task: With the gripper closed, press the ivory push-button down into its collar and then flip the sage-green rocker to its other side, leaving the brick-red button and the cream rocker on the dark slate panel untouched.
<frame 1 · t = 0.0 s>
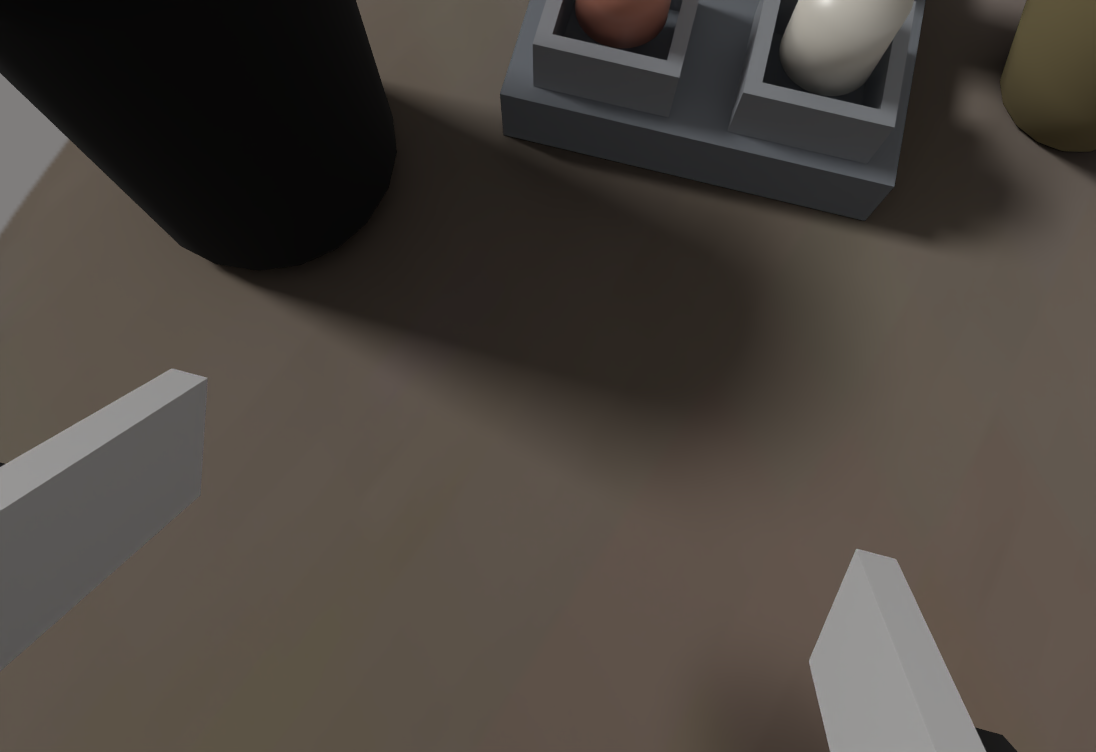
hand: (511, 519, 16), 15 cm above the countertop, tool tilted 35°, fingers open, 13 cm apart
ivory button: (842, 24, 29), point 7 cm above the countertop, slide at 0.0 cm
panel: (714, 42, 37), on the countertop
coffee jar: (279, 168, 35), on the countertop
squeeze bottle: (1060, 99, 36), on the countertop
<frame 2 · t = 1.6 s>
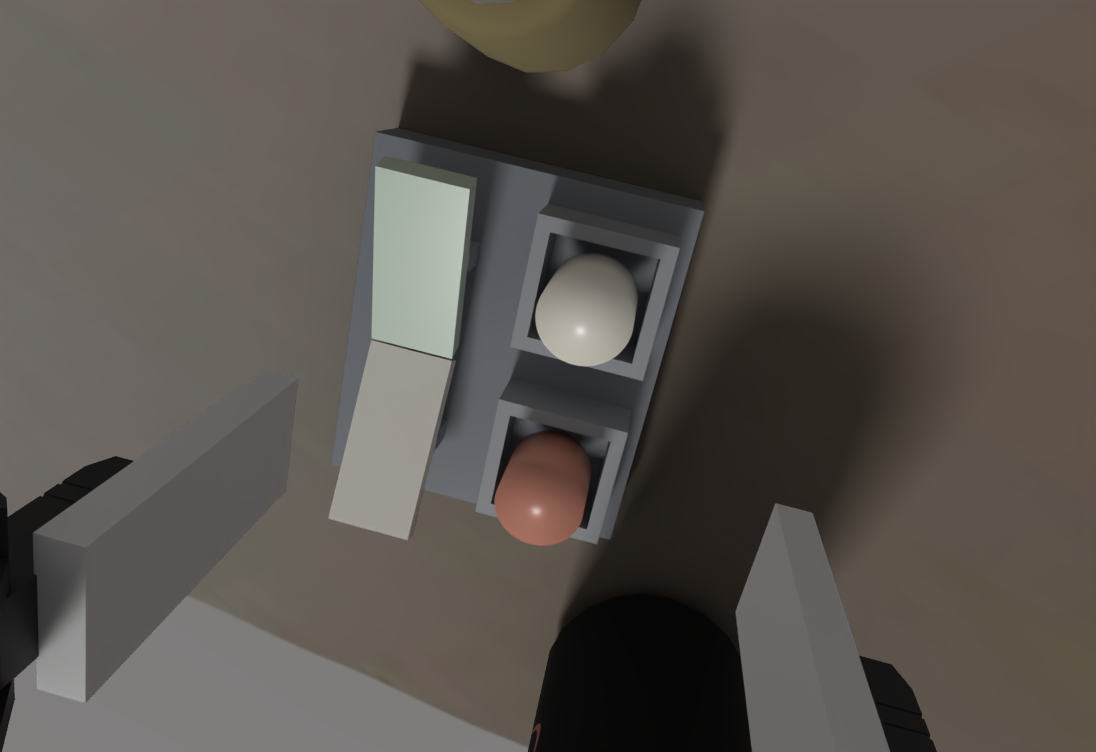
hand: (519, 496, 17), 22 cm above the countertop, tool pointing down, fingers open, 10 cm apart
ivory button: (588, 307, 31), point 7 cm above the countertop, slide at 0.0 cm
cream rocker: (394, 438, 36), point 5 cm above the countertop, hinge at 18.0°
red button: (545, 486, 34), point 7 cm above the countertop, slide at 0.0 cm
panel: (513, 330, 39), on the countertop
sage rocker: (423, 258, 33), point 5 cm above the countertop, hinge at -18.0°
coffee jar: (645, 663, 45), on the countertop
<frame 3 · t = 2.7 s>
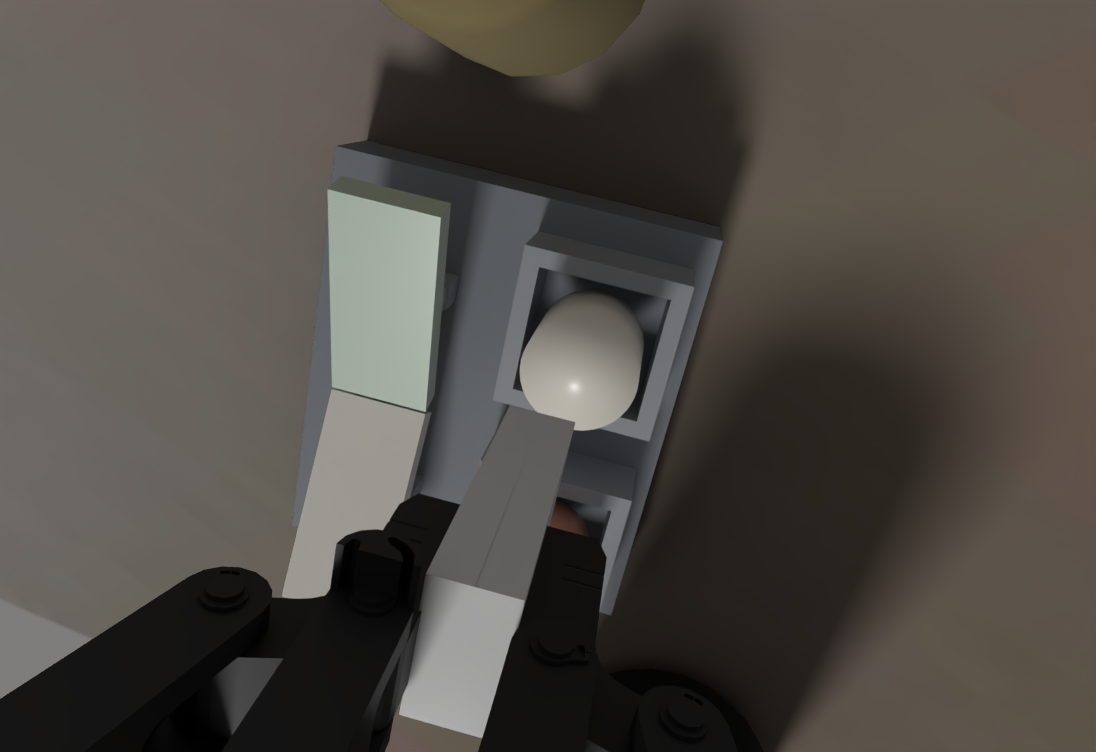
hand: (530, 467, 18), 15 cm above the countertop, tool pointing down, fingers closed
ivory button: (585, 357, 26), point 7 cm above the countertop, slide at 0.0 cm
cream rocker: (360, 501, 31), point 5 cm above the countertop, hinge at 18.0°
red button: (533, 563, 29), point 7 cm above the countertop, slide at 0.0 cm
panel: (500, 372, 34), on the countertop
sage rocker: (390, 296, 28), point 5 cm above the countertop, hinge at -18.0°
coffee jar: (651, 744, 39), on the countertop
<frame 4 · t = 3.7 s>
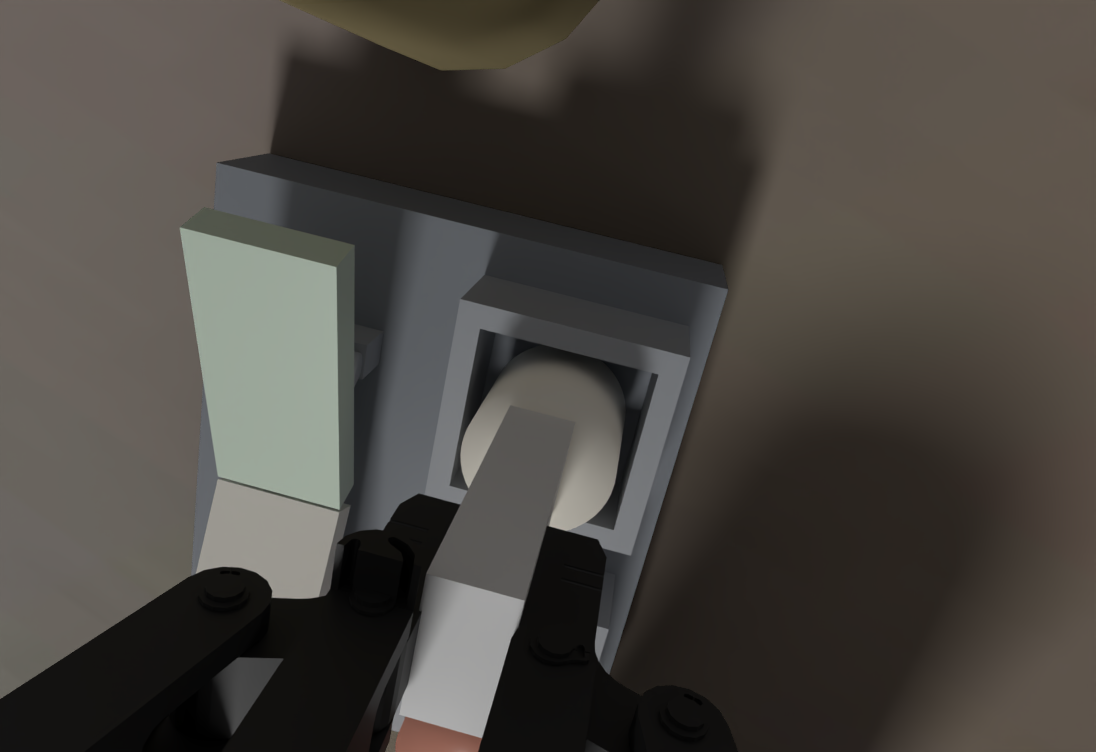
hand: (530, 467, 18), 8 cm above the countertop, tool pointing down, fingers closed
ivory button: (548, 434, 20), point 6 cm above the countertop, slide at 1.1 cm, touching gripper
cream rocker: (259, 620, 24), point 5 cm above the countertop, hinge at 18.0°
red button: (480, 711, 22), point 7 cm above the countertop, slide at 0.0 cm
panel: (447, 444, 27), on the countertop
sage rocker: (285, 364, 21), point 5 cm above the countertop, hinge at -18.0°
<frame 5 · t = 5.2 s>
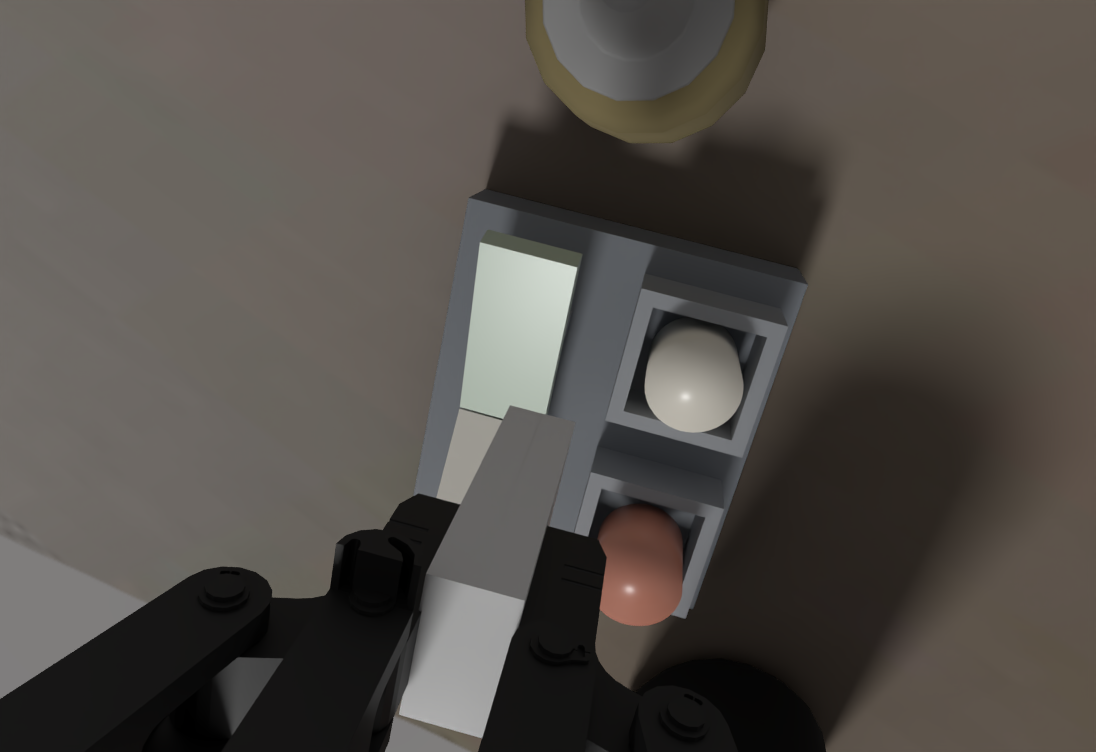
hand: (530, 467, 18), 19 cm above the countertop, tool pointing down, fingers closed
ivory button: (693, 372, 31), point 5 cm above the countertop, slide at 1.5 cm
cream rocker: (480, 507, 35), point 5 cm above the countertop, hinge at 18.0°
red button: (637, 562, 33), point 7 cm above the countertop, slide at 0.0 cm
panel: (595, 393, 38), on the countertop
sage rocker: (519, 330, 32), point 5 cm above the countertop, hinge at -18.0°
coffee jar: (717, 727, 44), on the countertop
squeeze bottle: (656, 35, 33), on the countertop
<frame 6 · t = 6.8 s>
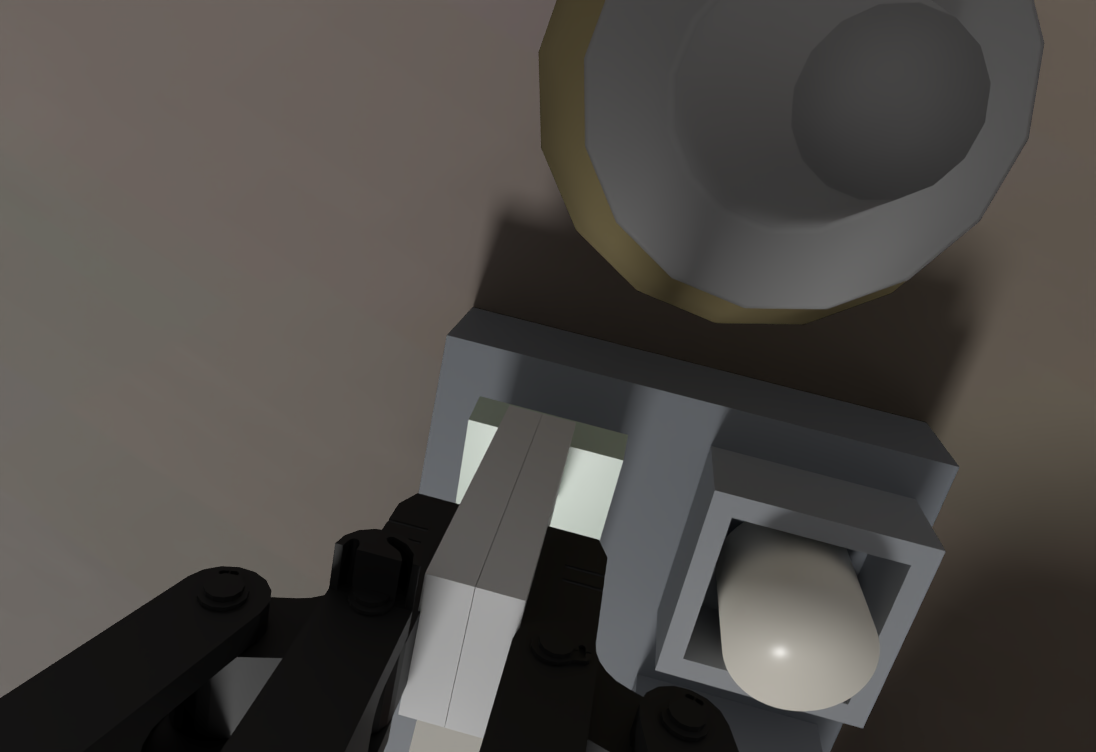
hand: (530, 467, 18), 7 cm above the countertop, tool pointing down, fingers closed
ivory button: (790, 606, 21), point 5 cm above the countertop, slide at 1.5 cm
panel: (629, 580, 27), on the countertop
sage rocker: (525, 539, 21), point 5 cm above the countertop, hinge at -11.5°, touching gripper
squeeze bottle: (725, 90, 22), on the countertop
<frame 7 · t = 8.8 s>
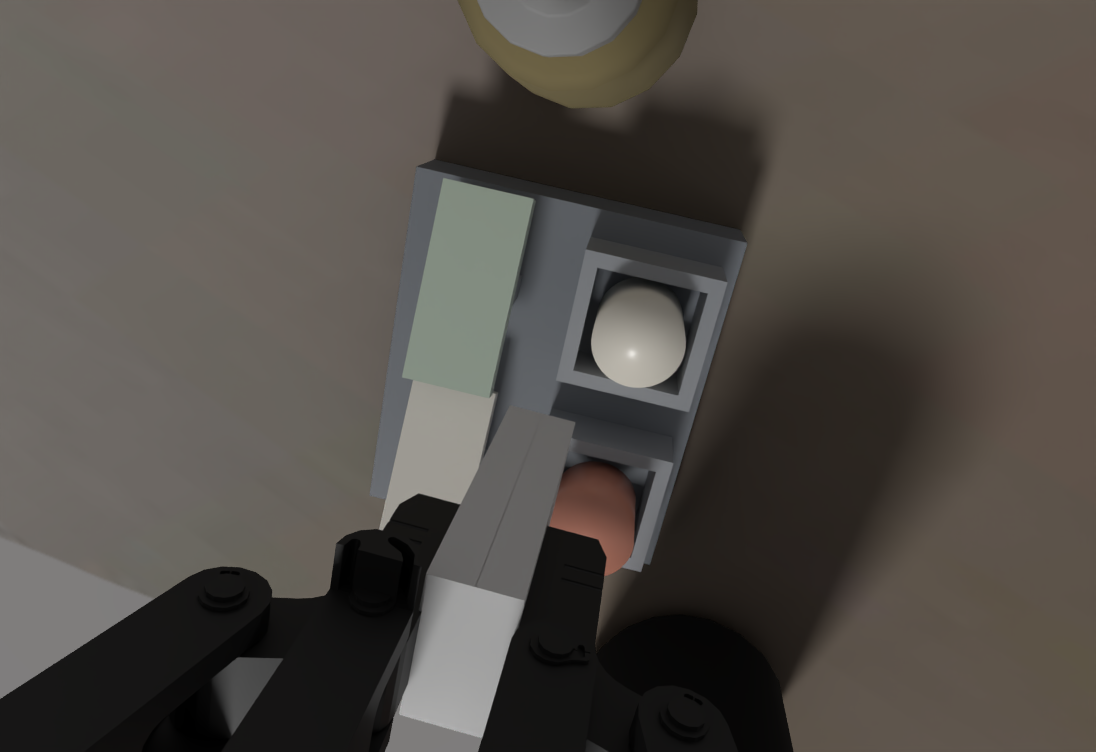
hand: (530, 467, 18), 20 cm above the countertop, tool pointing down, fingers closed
ivory button: (638, 330, 32), point 5 cm above the countertop, slide at 1.5 cm
cream rocker: (438, 470, 36), point 5 cm above the countertop, hinge at 18.0°
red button: (591, 517, 34), point 7 cm above the countertop, slide at 0.0 cm
panel: (549, 358, 39), on the countertop
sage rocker: (470, 289, 33), point 5 cm above the countertop, hinge at 13.5°
coffee jar: (679, 682, 45), on the countertop
squeeze bottle: (595, 3, 33), on the countertop
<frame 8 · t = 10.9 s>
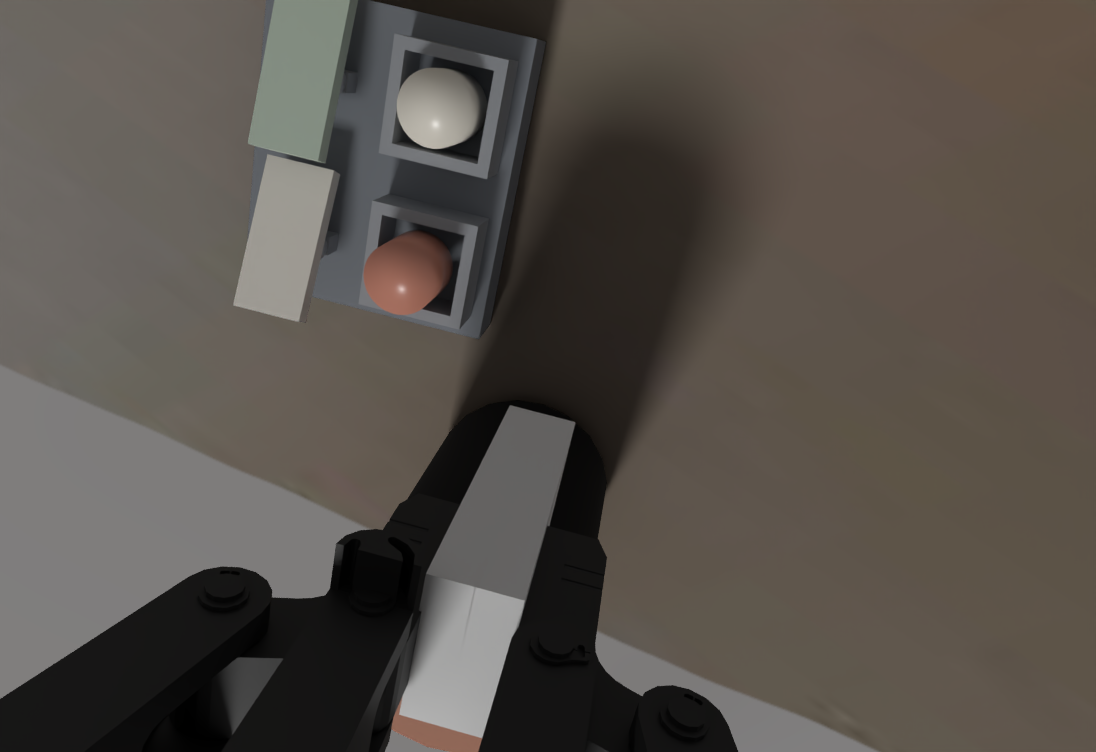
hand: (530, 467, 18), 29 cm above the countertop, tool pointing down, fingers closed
ivory button: (443, 107, 39), point 5 cm above the countertop, slide at 1.5 cm
cream rocker: (289, 240, 43), point 5 cm above the countertop, hinge at 18.0°
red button: (409, 271, 41), point 7 cm above the countertop, slide at 0.0 cm
panel: (397, 163, 46), on the countertop
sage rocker: (306, 73, 40), point 5 cm above the countertop, hinge at 13.5°
coffee jar: (524, 469, 52), on the countertop
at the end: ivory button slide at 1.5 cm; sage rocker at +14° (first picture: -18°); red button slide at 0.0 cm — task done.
